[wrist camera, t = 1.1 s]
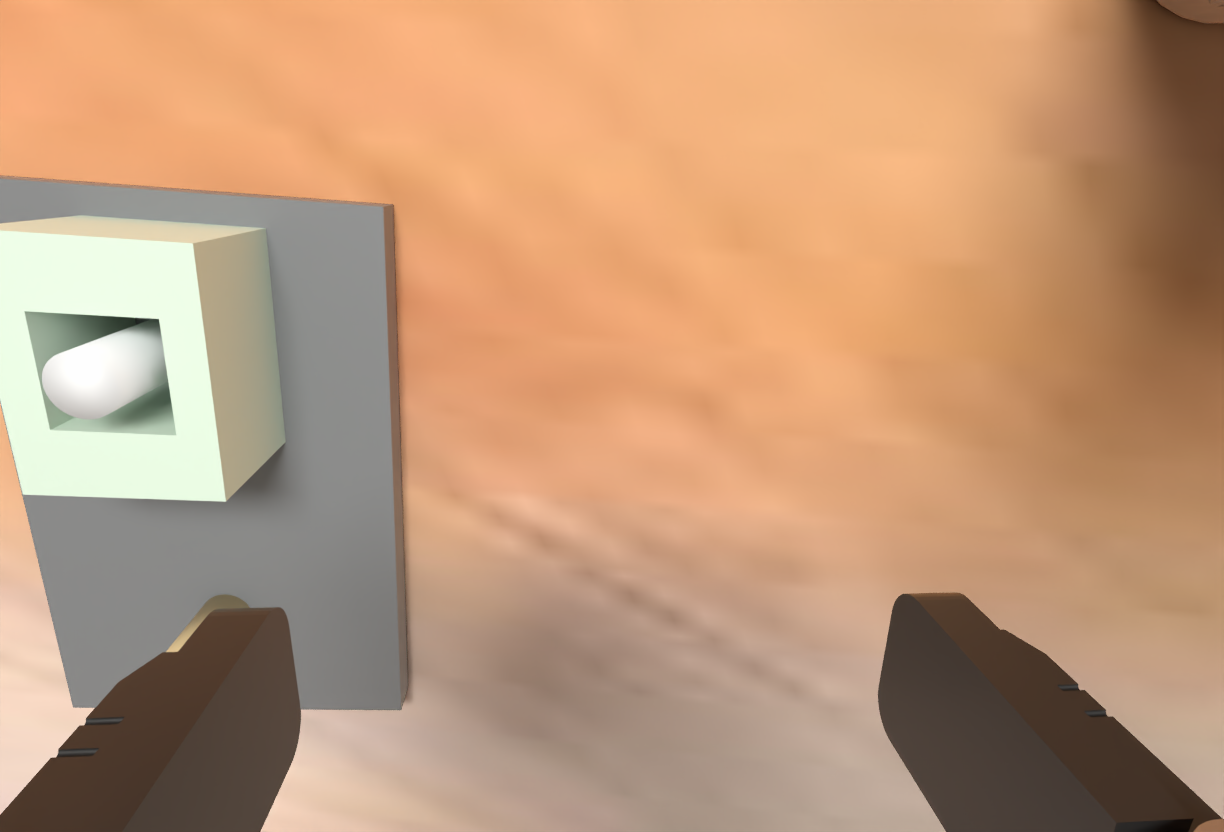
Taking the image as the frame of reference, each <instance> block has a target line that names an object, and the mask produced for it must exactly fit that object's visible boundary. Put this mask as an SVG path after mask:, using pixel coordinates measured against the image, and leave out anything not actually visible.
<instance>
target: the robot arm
mask: <svg viewBox="0 0 1224 832" xmlns="http://www.w3.org/2000/svg"><path fill="white" fill-rule="evenodd" d="M1157 1H1158V2H1159V4H1160V5H1161V6H1163V7H1165V8H1167V9H1168V10H1170V11H1172V12H1173V13H1175V14H1177V15H1178V16H1180V17H1182V18H1186V19H1190V20H1194V21H1198V22H1202V23H1224V0H1157ZM878 702H879V710H880V715H881V719H882V723H883V726H884V729H885V731H886V734H887V736H888V738H889V740H890V741H891V743H892V745H893V746H894V748H895V749H896V751H897V753H898V754H899V756H900V758H901V759H902V761H903V762H904V764H905V766H906V767H907V769H908V770H909V772H910V774H911V775H912V777H913V779H914V780H915V782H916V783H917V785H918V787H919V788H920V790H921V791H922V793H923V795H924V796H925V798H926V800H927V801H928V803H929V804H930V806H931V808H932V809H933V811H934V813H935V814H936V816H937V817H938V819H939V821H940V822H941V824H942V825H943V827H944V829H945V830H946V832H1224V819H1222V818H1221V817H1220V816H1219V815H1218V814H1217V813H1216V812H1215V811H1213V810H1212V809H1211V808H1210V807H1209V806H1208V805H1207V804H1206V803H1205V802H1204V801H1203V800H1202V799H1201V798H1200V797H1198V796H1197V795H1196V794H1195V793H1194V792H1193V791H1192V790H1191V789H1190V788H1189V787H1188V786H1187V785H1186V784H1185V783H1183V782H1182V781H1181V780H1180V779H1179V778H1178V777H1177V776H1176V775H1175V774H1174V773H1173V772H1172V771H1171V770H1170V769H1168V768H1167V767H1166V766H1165V765H1164V764H1163V763H1162V762H1161V761H1160V760H1159V759H1158V758H1157V757H1156V756H1155V755H1153V754H1152V753H1151V752H1150V751H1149V750H1148V749H1147V748H1146V747H1145V746H1144V745H1143V744H1142V743H1141V742H1139V741H1138V740H1137V739H1136V738H1135V737H1134V736H1133V735H1132V734H1131V733H1130V732H1129V731H1128V730H1127V729H1126V728H1124V727H1123V726H1122V725H1121V724H1120V723H1119V722H1118V721H1117V720H1116V719H1115V718H1114V717H1108V716H1107V715H1106V712H1105V711H1106V710H1105V709H1104V708H1103V707H1102V706H1101V705H1100V704H1099V703H1098V702H1097V701H1096V700H1094V699H1093V698H1092V697H1091V696H1090V695H1089V694H1088V693H1087V692H1086V691H1085V690H1079V688H1078V684H1077V683H1076V682H1075V681H1074V680H1073V679H1072V678H1071V677H1070V676H1069V675H1068V674H1067V673H1066V672H1064V671H1063V670H1062V669H1061V668H1060V667H1059V666H1058V665H1057V664H1056V663H1055V662H1054V661H1053V660H1052V659H1051V658H1049V657H1048V656H1047V655H1046V654H1045V653H1043V652H1041V651H1040V650H1038V649H1036V648H1035V647H1033V646H1031V645H1030V644H1028V643H1026V642H1024V641H1023V640H1021V639H1019V638H1018V637H1016V636H1014V635H1013V634H1011V633H1009V632H1008V631H1006V630H1000V629H999V628H998V627H997V626H996V625H995V624H994V623H993V622H992V621H991V620H990V619H989V618H988V617H987V616H985V615H984V614H983V613H982V612H981V611H980V610H979V609H978V608H977V607H976V606H975V605H974V604H973V603H972V602H971V601H970V600H969V599H968V598H967V597H966V596H964V595H962V594H960V593H919V594H902V595H900V596H899V597H898V598H897V600H896V601H895V603H894V606H893V610H892V615H891V621H890V626H889V632H888V638H887V643H886V649H885V655H884V660H883V666H882V671H881V677H880V683H879V690H878ZM300 722H301V709H300V700H299V693H298V686H297V679H296V671H295V664H294V657H293V650H292V643H291V635H290V628H289V622H288V618H287V615H286V613H285V611H284V610H283V609H282V608H280V607H264V608H222V609H215V610H213V611H212V612H210V613H209V614H208V615H207V617H206V618H205V619H204V620H203V621H202V623H201V624H200V625H199V626H198V628H197V629H196V630H195V631H194V633H193V634H192V635H191V636H190V637H189V639H188V640H187V641H186V642H185V644H184V645H183V646H182V647H181V648H180V650H179V651H178V652H162V653H161V654H159V655H158V656H156V657H155V658H153V659H152V660H150V661H149V662H147V663H146V664H144V665H143V666H141V667H140V668H139V669H137V670H136V671H134V672H133V673H131V674H130V675H128V676H127V677H125V678H124V679H122V680H121V681H119V682H118V683H117V684H116V685H115V686H114V687H113V689H112V690H111V691H110V692H109V693H108V694H107V695H106V696H105V698H104V699H103V700H102V701H101V702H100V703H99V704H98V705H97V707H96V708H95V709H94V710H93V711H92V712H91V713H90V714H89V716H88V717H87V718H86V723H85V725H84V726H79V727H78V728H77V729H76V730H75V731H74V732H73V734H72V735H71V736H70V737H69V738H68V739H67V740H66V742H65V743H64V744H63V745H62V746H61V747H60V748H59V749H58V755H57V757H56V758H50V760H49V761H48V762H47V763H46V764H45V765H44V766H43V767H42V769H41V770H40V771H39V772H38V773H37V774H36V775H35V776H34V778H33V779H32V780H31V781H30V782H29V783H28V784H27V785H26V787H25V788H24V789H23V790H22V791H21V792H20V793H19V794H18V796H17V797H16V798H15V799H14V800H13V801H12V802H11V804H10V805H9V806H8V807H7V808H6V809H5V810H4V811H3V813H2V814H1V815H0V832H260V831H261V829H262V827H263V824H264V822H265V820H266V818H267V816H268V814H269V811H270V809H271V807H272V805H273V803H274V800H275V798H276V796H277V794H278V792H279V789H280V787H281V785H282V783H283V781H284V779H285V776H286V774H287V772H288V770H289V768H290V765H291V763H292V761H293V758H294V755H295V752H296V748H297V744H298V739H299V732H300Z"/></svg>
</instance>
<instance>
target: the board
mask: <svg viewBox="0 0 1224 832" xmlns="http://www.w3.org/2000/svg"><path fill="white" fill-rule="evenodd" d="M79 215H84V216H98V217H113V218H127V219H141V220H156V221H170V222H184V223H199V224H213V225H227V226H242V227H256V228H266V235H267V246H268V257H269V268H270V278H271V289H272V300H273V311H274V322H275V333H276V343H277V354H278V365H279V376H280V387H281V398H282V408H283V419H284V430H285V441H286V442H285V443H284V444H283V445H282V446H281V447H280V448H279V449H278V450H277V451H276V452H275V453H274V454H273V455H272V456H271V457H270V458H269V459H268V460H267V461H266V462H265V463H264V464H263V465H262V466H261V467H260V468H259V469H258V470H257V471H256V472H255V473H254V474H253V475H252V476H251V477H250V478H249V479H248V480H247V481H246V482H245V483H244V484H243V485H242V486H241V487H240V488H239V489H238V490H237V491H236V492H235V493H234V494H233V495H232V496H231V497H230V498H229V499H228V500H227V501H226V502H222V501H193V500H164V499H135V498H106V497H77V496H48V495H23V493H22V496H23V500H24V504H25V508H26V512H27V516H28V521H29V525H30V529H31V533H32V537H33V542H34V546H35V550H36V554H37V558H38V562H39V567H40V571H41V575H42V579H43V583H44V587H45V592H46V596H47V600H48V604H49V608H50V612H51V617H52V621H53V625H54V629H55V633H56V637H57V642H58V646H59V650H60V654H61V658H62V663H63V667H64V671H65V675H66V679H67V683H68V688H69V692H70V696H71V700H72V704H73V707H79V708H96V707H97V705H98V704H99V703H100V702H101V701H102V700H103V699H104V698H105V696H106V695H107V694H108V693H109V692H110V691H111V690H112V689H113V687H114V686H115V685H116V684H117V683H118V682H119V681H121V680H122V679H124V678H125V677H127V676H128V675H130V674H131V673H133V672H134V671H136V670H137V669H139V668H140V667H141V666H143V665H144V664H146V663H147V662H149V661H150V660H152V659H153V658H155V657H156V656H158V655H159V654H161V653H162V652H178V651H179V650H180V648H181V647H182V646H183V645H184V644H185V642H186V641H187V640H188V639H189V637H190V636H191V635H192V634H193V633H194V631H195V630H196V629H197V628H198V626H199V625H200V624H201V623H202V621H203V620H204V619H205V618H206V617H207V615H208V614H209V613H210V612H212V611H213V610H215V609H222V608H264V607H280V608H282V609H283V610H284V611H285V613H286V615H287V618H288V622H289V628H290V635H291V643H292V650H293V657H294V664H295V671H296V679H297V686H298V693H299V700H300V709H324V710H401V709H402V706H403V702H404V699H405V696H406V692H407V689H408V666H407V634H406V601H405V569H404V537H403V504H402V472H401V440H400V408H399V375H398V343H397V311H396V278H395V246H394V214H393V205H392V204H379V203H365V202H352V201H338V200H325V199H311V198H298V197H284V196H271V195H257V194H244V193H230V192H217V191H203V190H190V189H176V188H163V187H149V186H136V185H122V184H109V183H95V182H82V181H68V180H55V179H41V178H28V177H14V176H1V175H0V224H1V223H10V222H20V221H30V220H40V219H50V218H60V217H69V216H79ZM135 321H136V325H134V326H132V327H129V328H126V329H123V330H121V331H118V332H115V333H113V334H110V335H107V336H105V337H102V338H99V339H97V340H94V341H91V342H89V343H86V344H83V345H80V346H78V347H75V348H72V349H70V350H67V351H64V352H62V353H59V354H57V355H55V356H53V357H52V358H51V359H49V360H48V362H47V363H46V364H45V366H44V369H43V372H42V384H43V388H44V390H45V393H46V394H47V396H48V398H49V399H50V400H51V402H52V403H53V404H54V405H55V406H56V407H57V408H59V409H60V410H61V411H63V412H65V413H66V414H68V415H70V416H73V417H76V418H80V419H87V420H90V419H98V418H102V417H104V416H106V415H108V414H110V413H112V412H113V411H115V410H117V409H119V408H121V407H122V406H124V405H126V404H128V403H130V402H132V401H133V400H135V399H137V398H139V397H141V396H143V395H144V394H146V393H148V392H150V391H152V390H154V389H155V388H157V387H159V386H161V385H163V384H165V383H166V382H168V376H167V369H166V363H165V356H164V349H163V343H162V336H161V329H160V323H159V319H151V318H135ZM0 404H1V401H0ZM1 408H2V405H1ZM2 412H3V410H2ZM3 416H4V414H3ZM4 421H5V418H4ZM5 425H6V422H5ZM6 429H7V426H6ZM7 433H8V430H7ZM8 437H9V435H8ZM9 441H10V439H9ZM10 446H11V443H10ZM11 450H12V447H11ZM12 454H13V451H12ZM13 458H14V455H13ZM14 462H15V460H14ZM15 466H16V464H15ZM16 471H17V468H16ZM17 475H18V472H17ZM18 479H19V476H18ZM19 483H20V481H19ZM20 487H21V485H20ZM21 491H22V489H21Z"/></svg>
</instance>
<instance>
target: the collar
mask: <svg viewBox="0 0 1224 832" xmlns="http://www.w3.org/2000/svg"><path fill="white" fill-rule="evenodd" d="M135 318H151V319H159V323H160V329H161V336H162V343H163V349H164V356H165V363H166V369H167V376H168V382H166V383H165V384H163V385H161V386H159V387H157V388H155V389H154V390H152V391H150V392H148V393H146V394H144V395H143V396H141V397H139V398H137V399H135V400H133V401H132V402H130V403H128V404H126V405H124V406H122V407H121V408H119V409H117V410H115V411H113V412H112V413H110V414H108V415H106V416H104V417H102V418H98V419H90V420H87V419H80V418H76V417H73V416H70V415H68V414H66V413H65V412H63V411H61V410H60V409H59V408H57V407H56V406H55V405H54V404H53V403H52V402H51V400H50V399H49V398H48V396H47V394H46V393H45V390H44V388H43V384H42V372H43V369H44V366H45V364H46V363H47V362H48V360H49V359H51V358H52V357H53V356H55V355H57V354H59V353H62V352H64V351H67V350H70V349H72V348H75V347H78V346H80V345H83V344H86V343H89V342H91V341H94V340H97V339H99V338H102V337H105V336H107V335H110V334H113V333H115V332H118V331H121V330H123V329H126V328H129V327H132V326H134V325H136V321H135ZM0 401H1V405H2V410H3V414H4V418H5V422H6V426H7V430H8V435H9V439H10V443H11V447H12V451H13V455H14V460H15V464H16V468H17V472H18V476H19V481H20V485H21V489H22V493H23V495H48V496H77V497H106V498H135V499H164V500H193V501H222V502H226V501H227V500H228V499H229V498H230V497H231V496H232V495H233V494H234V493H235V492H236V491H237V490H238V489H239V488H240V487H241V486H242V485H243V484H244V483H245V482H246V481H247V480H248V479H249V478H250V477H251V476H252V475H253V474H254V473H255V472H256V471H257V470H258V469H259V468H260V467H261V466H262V465H263V464H264V463H265V462H266V461H267V460H268V459H269V458H270V457H271V456H272V455H273V454H274V453H275V452H276V451H277V450H278V449H279V448H280V447H281V446H282V445H283V444H284V443H285V442H286V441H285V430H284V419H283V408H282V398H281V387H280V376H279V365H278V354H277V343H276V333H275V322H274V311H273V300H272V289H271V278H270V268H269V257H268V246H267V235H266V228H256V227H242V226H227V225H213V224H199V223H184V222H170V221H156V220H141V219H127V218H113V217H98V216H84V215H79V216H69V217H60V218H50V219H40V220H30V221H20V222H10V223H1V224H0Z"/></svg>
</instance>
